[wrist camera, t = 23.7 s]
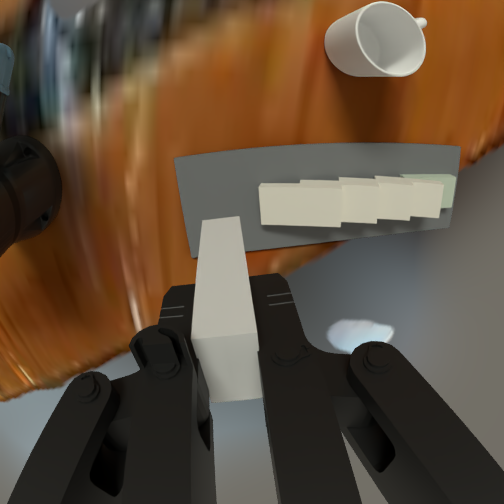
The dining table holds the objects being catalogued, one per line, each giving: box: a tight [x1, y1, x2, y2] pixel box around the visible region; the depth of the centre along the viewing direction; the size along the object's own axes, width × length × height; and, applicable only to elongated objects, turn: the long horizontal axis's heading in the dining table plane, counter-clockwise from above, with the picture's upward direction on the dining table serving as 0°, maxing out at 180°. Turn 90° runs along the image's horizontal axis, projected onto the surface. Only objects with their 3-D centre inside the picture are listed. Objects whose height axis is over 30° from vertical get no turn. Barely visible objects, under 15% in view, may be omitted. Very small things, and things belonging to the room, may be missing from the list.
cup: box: [324, 2, 427, 77], centre depth 26 cm, size 8×12×10 cm
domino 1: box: [258, 183, 342, 227], centre depth 38 cm, size 2×5×10 cm
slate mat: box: [174, 143, 461, 258], centre depth 40 cm, size 42×14×1 cm, turn 95°
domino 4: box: [374, 176, 444, 218], centre depth 38 cm, size 2×5×10 cm
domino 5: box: [400, 174, 456, 208], centre depth 40 cm, size 2×5×10 cm
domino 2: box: [300, 180, 380, 224], centre depth 38 cm, size 2×5×10 cm
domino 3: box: [339, 177, 414, 221], centre depth 38 cm, size 2×5×10 cm
